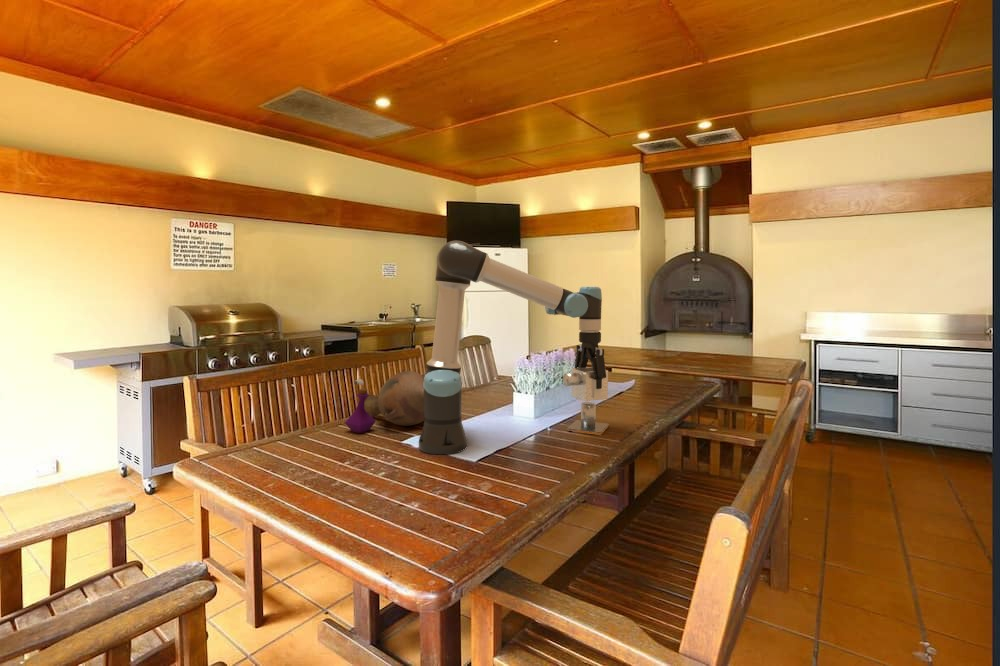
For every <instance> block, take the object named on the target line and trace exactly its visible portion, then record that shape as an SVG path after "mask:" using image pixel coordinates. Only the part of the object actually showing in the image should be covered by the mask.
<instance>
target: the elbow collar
mask: <svg viewBox="0 0 1000 666" xmlns="http://www.w3.org/2000/svg"><path fill="white" fill-rule="evenodd" d="M605 370H606V378H603V379H602V388H601V398H593V382H594V379H593V378H595V376H594V372H593V368H592V366H586V368H578V367H577V368H574V367H572V368H571V373H564V374H563V376H562V382H563V385H564V386H565V387H571V397H573V398H575V399H578V400H581V401H583V402H593V401H594V402H595V401H604V400H608V398H609V396H608V395H609V394H608V393H609V392H608V390H609V370H608V369H605ZM602 375H603V374H602Z"/></svg>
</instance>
